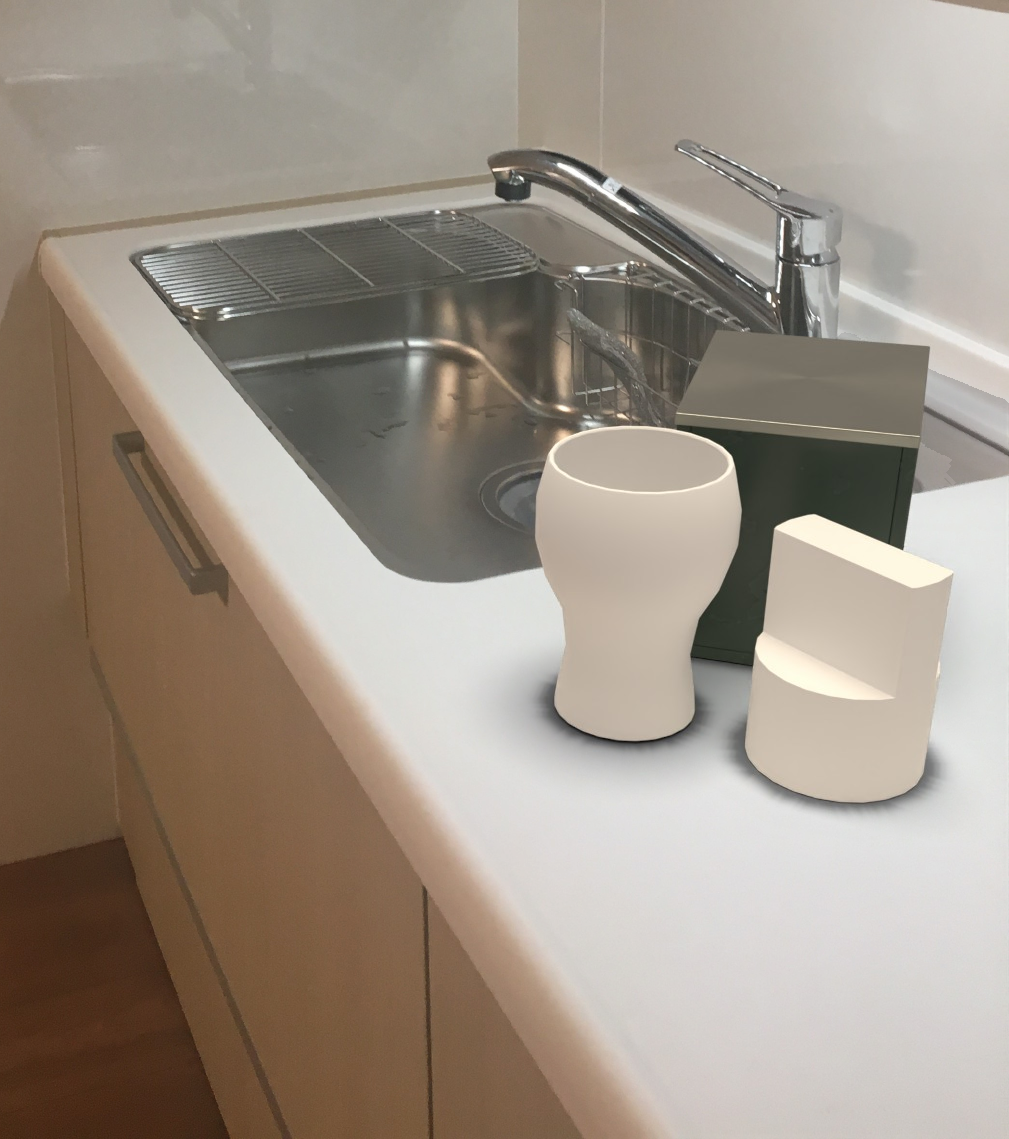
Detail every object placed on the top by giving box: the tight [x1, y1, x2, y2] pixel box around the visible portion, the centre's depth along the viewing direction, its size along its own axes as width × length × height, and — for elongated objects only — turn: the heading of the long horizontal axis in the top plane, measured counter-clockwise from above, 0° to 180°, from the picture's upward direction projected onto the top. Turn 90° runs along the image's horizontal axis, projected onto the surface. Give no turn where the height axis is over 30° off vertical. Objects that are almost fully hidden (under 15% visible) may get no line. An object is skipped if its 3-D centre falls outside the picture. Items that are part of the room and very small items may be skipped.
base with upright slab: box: [744, 514, 954, 804], centre depth 80 cm, size 9×9×12 cm
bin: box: [675, 425, 920, 666], centre depth 94 cm, size 15×13×15 cm
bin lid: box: [674, 329, 931, 449], centre depth 90 cm, size 16×13×1 cm
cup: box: [534, 425, 742, 742], centre depth 84 cm, size 11×11×15 cm
